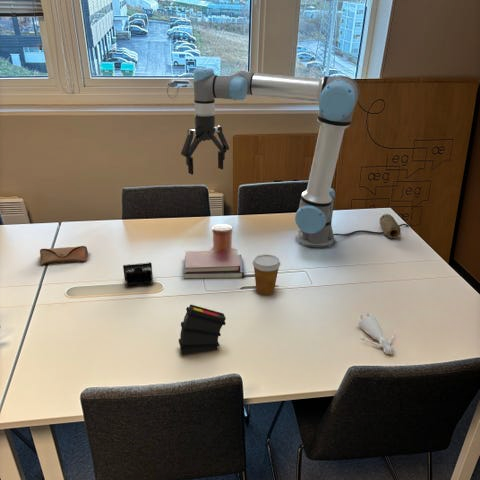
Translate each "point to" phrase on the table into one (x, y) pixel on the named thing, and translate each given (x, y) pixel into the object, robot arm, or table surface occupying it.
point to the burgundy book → (211, 261)
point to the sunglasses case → (63, 255)
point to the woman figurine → (375, 333)
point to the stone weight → (389, 226)
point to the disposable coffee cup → (265, 273)
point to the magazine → (200, 330)
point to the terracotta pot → (222, 237)
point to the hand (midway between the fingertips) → (206, 171)
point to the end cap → (138, 274)
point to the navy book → (216, 273)
